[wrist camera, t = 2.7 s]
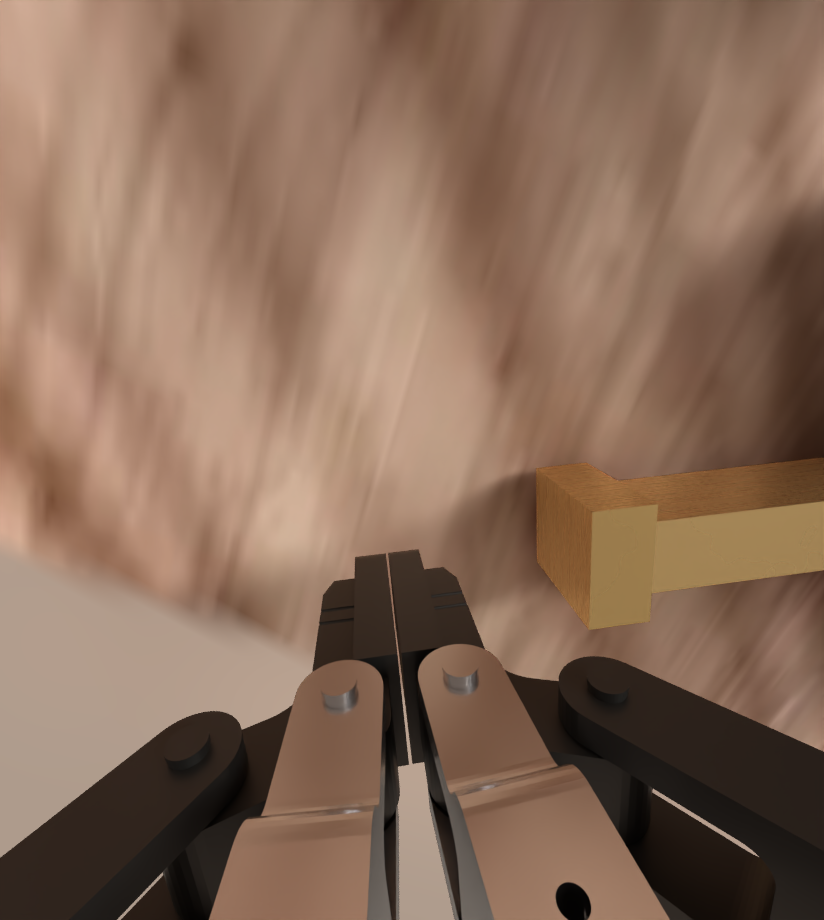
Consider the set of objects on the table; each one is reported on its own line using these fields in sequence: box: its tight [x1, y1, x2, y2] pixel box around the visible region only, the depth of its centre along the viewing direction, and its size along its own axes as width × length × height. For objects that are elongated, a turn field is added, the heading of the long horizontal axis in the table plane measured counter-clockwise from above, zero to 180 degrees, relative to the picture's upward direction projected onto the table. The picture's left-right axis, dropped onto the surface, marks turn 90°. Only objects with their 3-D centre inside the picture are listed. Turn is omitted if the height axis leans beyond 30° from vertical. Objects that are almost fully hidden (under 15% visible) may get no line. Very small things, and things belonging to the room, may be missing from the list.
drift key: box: [536, 457, 824, 630], centre depth 13 cm, size 11×3×4 cm, turn 95°
